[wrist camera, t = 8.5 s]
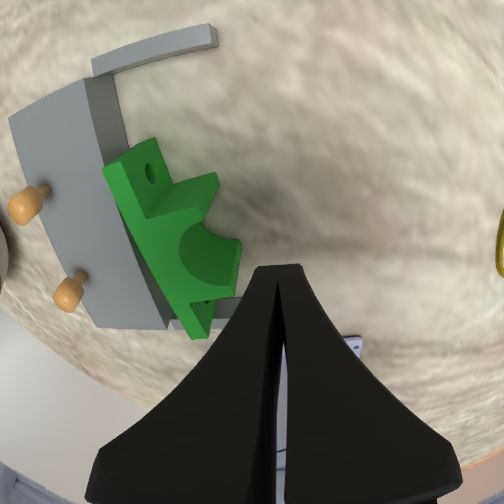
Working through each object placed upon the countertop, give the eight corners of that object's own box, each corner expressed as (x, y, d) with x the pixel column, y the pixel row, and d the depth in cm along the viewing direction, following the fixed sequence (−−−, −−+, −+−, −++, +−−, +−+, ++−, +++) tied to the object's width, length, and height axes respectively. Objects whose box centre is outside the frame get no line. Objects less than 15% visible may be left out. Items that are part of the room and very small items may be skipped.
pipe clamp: (254, 282, 21) (250, 334, 17) (204, 290, 21) (191, 340, 18) (198, 120, 15) (172, 141, 11) (138, 142, 15) (99, 169, 12)
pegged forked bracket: (259, 306, 21) (255, 373, 17) (115, 309, 23) (89, 363, 18) (216, 29, 12) (185, 7, 7) (36, 93, 13) (-29, 114, 8)
